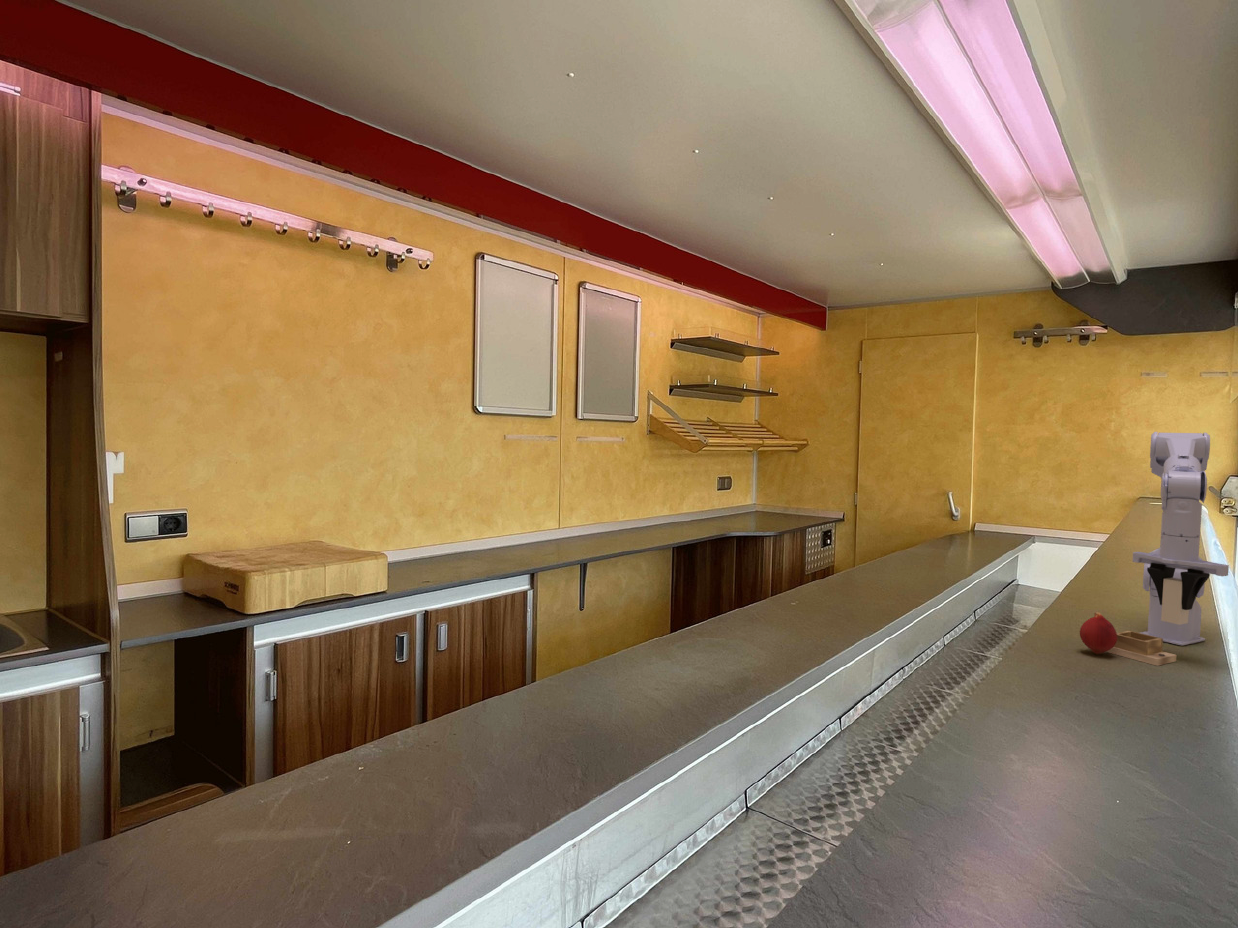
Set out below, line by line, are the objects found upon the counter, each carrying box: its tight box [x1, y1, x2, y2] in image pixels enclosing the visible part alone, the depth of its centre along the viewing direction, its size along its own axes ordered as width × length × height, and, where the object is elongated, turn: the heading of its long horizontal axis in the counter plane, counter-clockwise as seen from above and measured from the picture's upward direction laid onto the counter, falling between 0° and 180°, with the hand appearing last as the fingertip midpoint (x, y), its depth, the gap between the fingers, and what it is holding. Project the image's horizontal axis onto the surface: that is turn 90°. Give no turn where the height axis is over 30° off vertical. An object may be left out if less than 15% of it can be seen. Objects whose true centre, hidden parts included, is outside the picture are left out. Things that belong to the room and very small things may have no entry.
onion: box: [1079, 611, 1118, 655], centre depth 132 cm, size 6×6×8 cm
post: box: [1161, 578, 1189, 625], centre depth 131 cm, size 3×3×8 cm
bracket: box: [1105, 630, 1177, 667], centre depth 132 cm, size 6×10×4 cm, turn 27°
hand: (1175, 606), depth 131 cm, fingers closed on post, 3 cm apart
